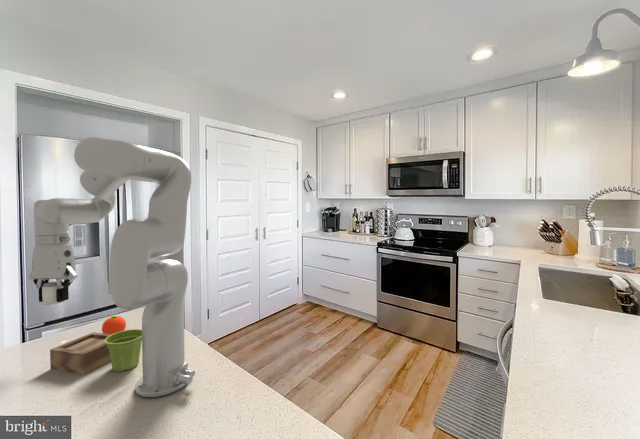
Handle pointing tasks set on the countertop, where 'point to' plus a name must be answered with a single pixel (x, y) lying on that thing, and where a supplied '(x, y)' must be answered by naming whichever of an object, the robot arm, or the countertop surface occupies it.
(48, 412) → the countertop surface
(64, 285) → the robot arm
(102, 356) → the tray
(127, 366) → the plant pot
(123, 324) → the clementine
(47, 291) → the white rounded cylinder
